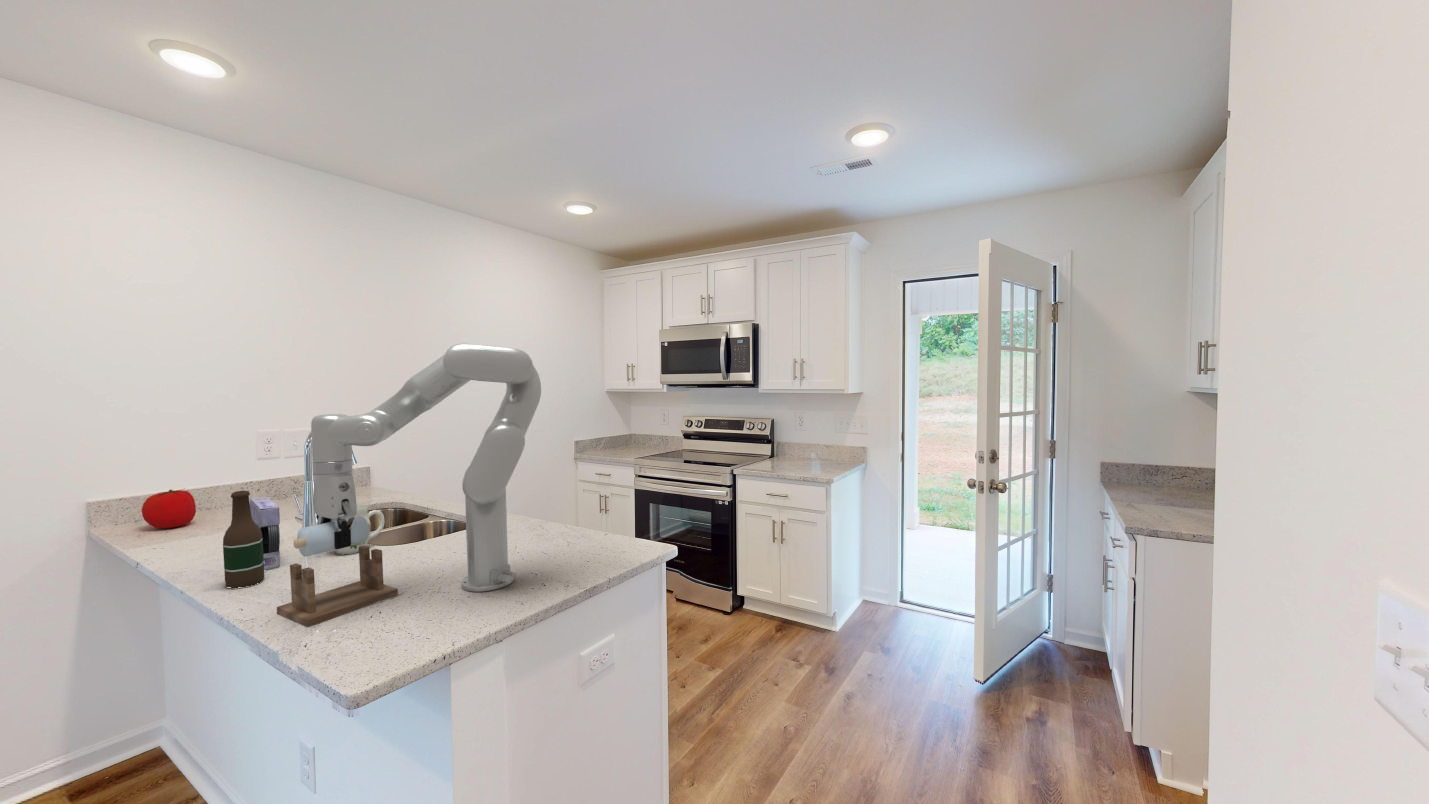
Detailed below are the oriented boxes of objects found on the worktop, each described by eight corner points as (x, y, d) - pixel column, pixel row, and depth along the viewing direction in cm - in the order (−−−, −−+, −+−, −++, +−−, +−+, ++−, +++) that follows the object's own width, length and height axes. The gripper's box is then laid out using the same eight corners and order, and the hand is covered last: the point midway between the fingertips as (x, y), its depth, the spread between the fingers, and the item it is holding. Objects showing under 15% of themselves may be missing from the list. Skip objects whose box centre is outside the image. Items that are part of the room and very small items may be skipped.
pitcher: (393, 545, 170) (391, 502, 169) (327, 562, 155) (325, 514, 155) (376, 539, 176) (375, 498, 176) (311, 555, 161) (309, 509, 161)
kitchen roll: (375, 543, 130) (376, 518, 130) (302, 562, 117) (303, 533, 116) (361, 536, 133) (362, 511, 133) (288, 554, 120) (289, 526, 120)
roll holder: (398, 594, 131) (396, 550, 130) (307, 627, 114) (305, 575, 114) (366, 584, 138) (364, 541, 137) (277, 613, 121) (274, 565, 121)
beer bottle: (241, 578, 143) (236, 488, 142) (272, 577, 144) (267, 487, 143) (216, 590, 135) (211, 495, 134) (250, 588, 136) (244, 494, 135)
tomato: (202, 525, 197) (200, 488, 197) (149, 535, 186) (146, 495, 185) (188, 519, 206) (186, 484, 205) (136, 528, 194) (134, 491, 193)
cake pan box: (283, 568, 151) (280, 505, 150) (260, 573, 147) (256, 509, 146) (271, 553, 164) (268, 495, 163) (249, 557, 160) (246, 498, 159)
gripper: (370, 469, 123) (372, 546, 124) (331, 463, 132) (333, 535, 133) (334, 474, 117) (336, 555, 118) (295, 467, 125) (297, 543, 126)
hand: (334, 544), depth 125 cm, fingers closed on kitchen roll, 6 cm apart
